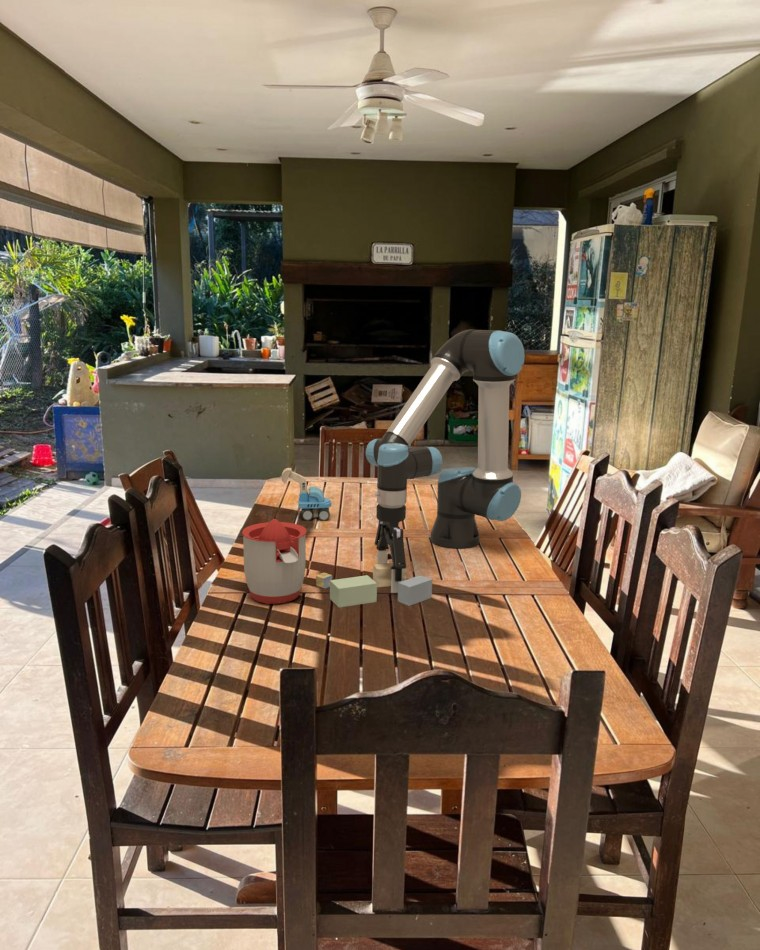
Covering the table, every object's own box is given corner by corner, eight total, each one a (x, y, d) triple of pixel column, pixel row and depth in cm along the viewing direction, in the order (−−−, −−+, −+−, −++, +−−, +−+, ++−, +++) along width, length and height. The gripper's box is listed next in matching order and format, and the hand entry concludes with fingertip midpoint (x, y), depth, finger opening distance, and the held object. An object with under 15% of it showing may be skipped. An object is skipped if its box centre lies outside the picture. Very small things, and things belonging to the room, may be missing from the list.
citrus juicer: (261, 616, 176) (260, 533, 171) (233, 591, 190) (231, 515, 186) (321, 603, 184) (321, 524, 180) (290, 580, 198) (289, 507, 194)
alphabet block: (324, 589, 193) (324, 577, 193) (315, 586, 195) (315, 574, 195) (332, 586, 195) (332, 574, 195) (324, 583, 198) (324, 571, 197)
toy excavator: (282, 514, 260) (282, 465, 256) (331, 514, 261) (331, 465, 257) (281, 521, 251) (280, 471, 248) (331, 521, 253) (332, 471, 249)
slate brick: (419, 593, 192) (420, 575, 191) (431, 598, 189) (432, 579, 188) (397, 601, 186) (398, 582, 185) (409, 606, 184) (409, 587, 182)
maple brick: (401, 579, 201) (402, 562, 200) (406, 585, 197) (406, 567, 196) (372, 582, 199) (373, 564, 198) (376, 587, 195) (377, 569, 194)
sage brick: (366, 593, 191) (367, 575, 190) (376, 602, 186) (376, 583, 185) (329, 599, 187) (329, 580, 186) (338, 608, 182) (338, 588, 181)
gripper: (364, 493, 204) (363, 567, 209) (391, 518, 181) (388, 601, 185) (391, 492, 206) (389, 565, 211) (421, 516, 183) (417, 599, 187)
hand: (388, 582), depth 198 cm, fingers open, 13 cm apart
